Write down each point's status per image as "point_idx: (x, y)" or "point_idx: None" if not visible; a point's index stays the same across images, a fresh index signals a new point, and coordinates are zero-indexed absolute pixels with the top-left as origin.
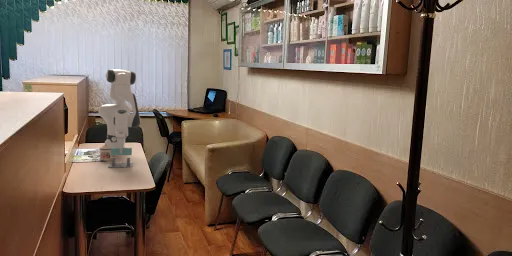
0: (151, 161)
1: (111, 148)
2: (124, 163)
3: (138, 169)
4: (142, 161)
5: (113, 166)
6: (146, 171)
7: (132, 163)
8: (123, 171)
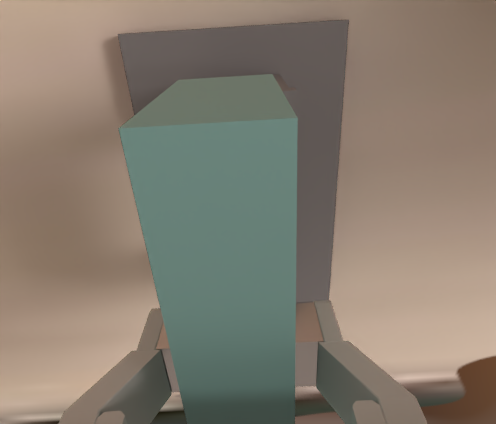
0: (434, 403)
1: (128, 157)
2: (316, 223)
3: (128, 344)
4: (450, 349)
5: (136, 111)
6: (76, 394)
7: (314, 297)
8: (8, 239)
